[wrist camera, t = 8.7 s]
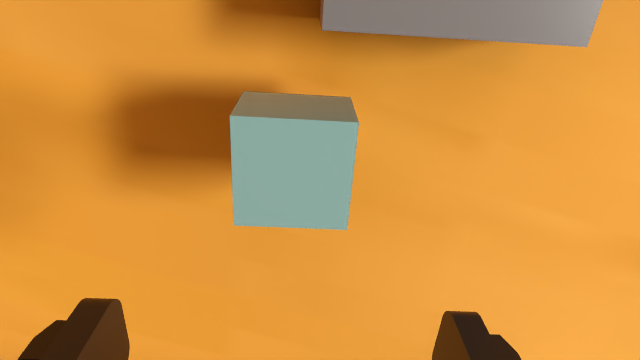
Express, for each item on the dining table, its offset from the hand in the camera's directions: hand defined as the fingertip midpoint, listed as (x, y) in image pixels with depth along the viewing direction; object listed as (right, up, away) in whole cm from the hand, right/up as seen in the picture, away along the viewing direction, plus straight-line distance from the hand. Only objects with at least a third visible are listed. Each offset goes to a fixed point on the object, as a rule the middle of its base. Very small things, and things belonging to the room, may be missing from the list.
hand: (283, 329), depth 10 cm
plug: (0, +7, +15) cm, 16 cm away
